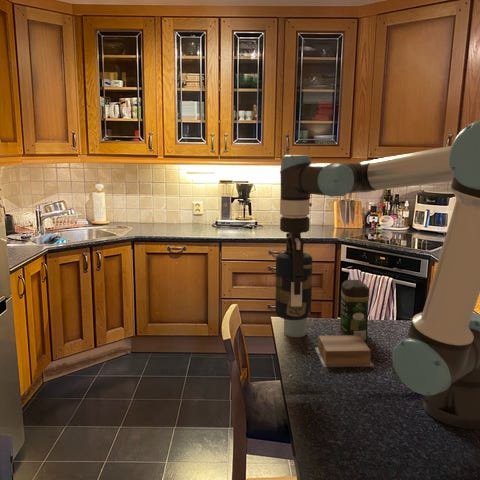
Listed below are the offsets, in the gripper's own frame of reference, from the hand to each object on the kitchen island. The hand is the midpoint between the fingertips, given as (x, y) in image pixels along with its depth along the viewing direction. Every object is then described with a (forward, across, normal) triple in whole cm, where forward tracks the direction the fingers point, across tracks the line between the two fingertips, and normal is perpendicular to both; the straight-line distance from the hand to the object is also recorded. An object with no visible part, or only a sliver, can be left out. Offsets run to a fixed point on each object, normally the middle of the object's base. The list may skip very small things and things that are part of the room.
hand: (293, 299), depth 128 cm
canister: (+5, 0, 0) cm, 5 cm away
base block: (+18, +4, -15) cm, 24 cm away
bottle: (+19, +22, -4) cm, 30 cm away
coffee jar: (+20, +20, -22) cm, 36 cm away
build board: (+19, +3, -14) cm, 24 cm away
